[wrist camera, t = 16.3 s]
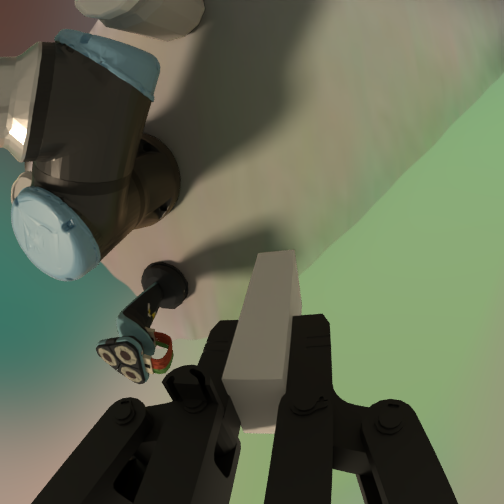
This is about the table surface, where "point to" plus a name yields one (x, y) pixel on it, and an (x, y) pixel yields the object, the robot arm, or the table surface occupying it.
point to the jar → (146, 16)
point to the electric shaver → (145, 325)
